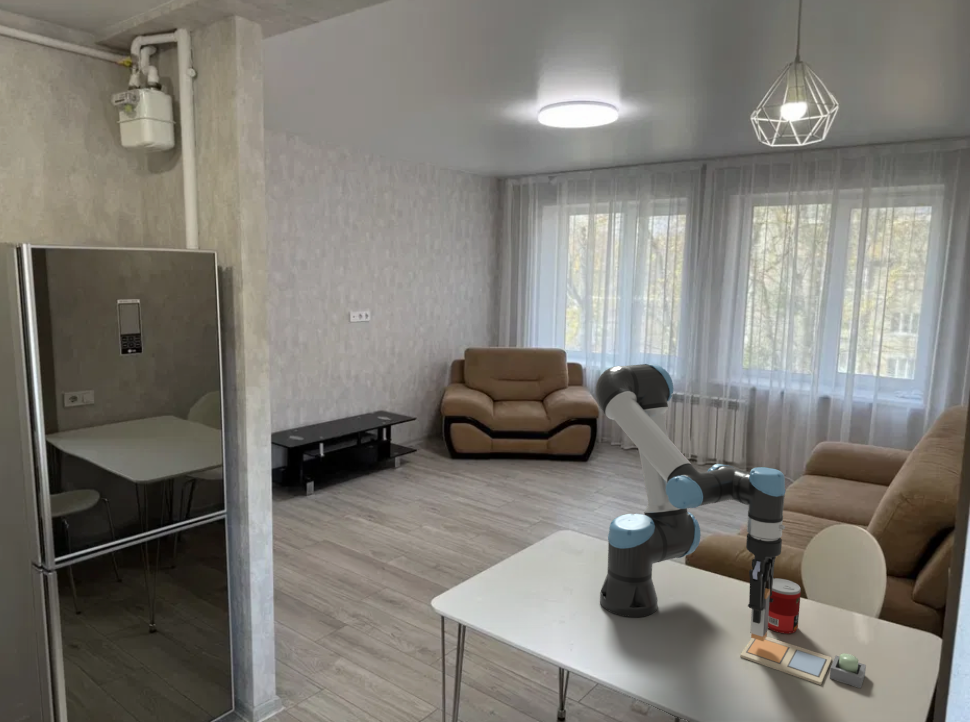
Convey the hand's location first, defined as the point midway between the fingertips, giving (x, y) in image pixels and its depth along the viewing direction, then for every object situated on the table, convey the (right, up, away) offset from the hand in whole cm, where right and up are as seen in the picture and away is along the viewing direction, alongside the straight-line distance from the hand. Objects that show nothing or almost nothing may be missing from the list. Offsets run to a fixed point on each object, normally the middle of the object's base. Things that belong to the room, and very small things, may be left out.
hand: (759, 630), depth 155 cm
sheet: (+5, -5, -3) cm, 8 cm away
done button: (+15, -5, -10) cm, 19 cm away
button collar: (+15, -6, -10) cm, 19 cm away
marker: (0, -2, 0) cm, 2 cm away
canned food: (+10, -4, +11) cm, 15 cm away
